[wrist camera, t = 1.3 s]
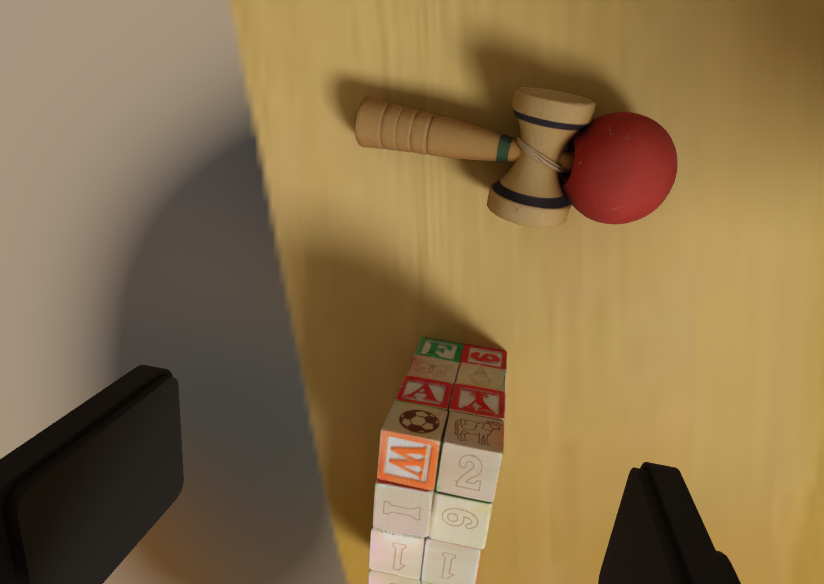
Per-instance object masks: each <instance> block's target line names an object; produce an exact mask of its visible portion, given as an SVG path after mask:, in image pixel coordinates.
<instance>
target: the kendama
mask: <svg viewBox="0 0 824 584" xmlns="http://www.w3.org/2000/svg"><path fill="white" fill-rule="evenodd" d="M511 106H512V109H513V111H514V113H515V115H516V117H517V119H518V122H519V126H520V132H521V135H520V136H519V137H516V138H512V137H509V136H507V135H505V134H501V133H499V132H496V131H492V130H490V129H487V128H484V127H480V126H478V125H475V124H471V123H468V122H465V121H461V120H457V119H454V118H450V117H446V116H442V115H435V114H433V113H429V112H425V111H420V110H417V109H413V108H409V107H405V106H402V105H398V104H392V103H390V102H387V101H383V100H380V99H377V98H373V97H366V98H365V99H364V100H363V101H362V102H361V104H360V106H359V109H358V112H357V116H356V121H355V135H356V140H357V142H358V144H359V145H360V146H362V147H369V148H379V149H389V150H398V151H399V150H400V151H405V152H414V153H419V154H425V155H427V154H429V155H433V156H440V157H448V158H457V159H468V160H485V161H507V162H514V164H513V166H512V167H511V168H510V170H509V171H508V172H507V173H506V175H505V176H504V177H502V178H501V179H499V180H498V181H497V182H495V183H494V184H492V185H491V186H490V189H489V195H488V201H487V206H488V208H489V210H490V211H491V212H493V213H494V214H495V215H497V216H499V217H500V218H503V219H505V220H507V221H510V222H513V223H516V224H520V225H524V226H530V227H537V228H551V227H557V226H560V225H562V224H564V223H565V221H566V219H567V215H568V213H569V210H570V207H571V204H572V205H573V206H574V207H575V208H576V209H577V210H578V211H579V212H580V213H581V214H583V215H584V216H586V217H587V218H589V219H591V220H594V221H597V222H601V223H606V224H624V223H629V222H633V221H636V220H638V219H641V218H643V217H645V216H647V215H649V214H650V213H652V212H653V211H654V210H655V209H657V208H658V207H659V206H660V205H661V203H662V202H663V201H664V200H665V198H666V197H667V195H668V194H669V192H670V190H671V188H672V186H673V184H674V181H675V178H676V173H677V154H676V149H675V146H674V143H673V141H672V139H671V137H670V135H669V134H668V133H667V131H666V130H665V129H664V128H663V127H662V126H661V125H659V124H658V123H657V122H655V121H654V120H652V119H650V118H648V117H646V116H643V115H640V114H636V113H630V112H619V113H611V114H607V115H604V116H601V117H599V118H597V119H594V120H593V116H594V111H595V106H596V104H595V103H594V102H593V101H592V100H590V99H588V98H585V97H582V96H579V95H575V94H571V93H566V92H561V91H556V90H549V89H543V88H534V87H519V88H517V89H516V90H515V93H514V96H513V100H512V104H511Z"/></svg>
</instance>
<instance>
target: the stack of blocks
mask: <svg viewBox="0 0 824 584" xmlns="http://www.w3.org/2000/svg"><path fill="white" fill-rule="evenodd" d="M506 370H507V352H506V351H502V350H496V349H491V348H485V347H479V346H473V345H467V344H464V345H463V344H457V343H452V342H446V341H440V340H435V339H429V338H424V337H422V338H421V340H420V342H419V344H418V346H417V349H416V351H415V353H414V355H413V361H412V363H411V365H410V367H409V369H408V372H407V375H406V376H405V377H404V378H403V380H402V383H401V385H400V387H399V389H398V392H397V394H396V397H395V400H394V403H393V405H392V407H391V409H390V411H389V413H388V415H387V417H386V420H385V422H384V424H383V426H382V429H381V434H380V445H379V458H378V469H377V479H376V483H375V493H374V509H373V525H372V528H371V535H370V551H369V568H370V570H369V576H368V584H476V582H477V574H478V568H479V562H480V557H481V551H482V549H484V547H485V543H486V538H487V532H488V526H489V521H490V516H491V511H492V503H493V501H494V499H495V494H496V489H497V484H498V479H499V474H500V469H501V464H502V458H503V446H504V419H505V377H506Z"/></svg>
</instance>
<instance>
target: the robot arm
mask: <svg viewBox="0 0 824 584" xmlns="http://www.w3.org/2000/svg"><path fill="white" fill-rule="evenodd" d="M179 407H180V406H179V388H178V381H177V380H176V379H175V378H173V377H172V374H171V372H170V371H169V370H167V369H163V368H158V367H153V366H147V365H140V366H138V367H136V368H134V369H133V370H132V371H130V372H128V373H127V374H126V375H124V376H123V377H121V378H120V379H118V380H117V381H115V382H114V383H112V384H111V385H109V386H108V387H106V388H105V389H103V390H102V391H101V392H99V393H97V394H96V395H95V396H93V397H92V398H90V399H89V400H87V401H86V402H84V403H83V404H81V405H80V406H79V407H77V408H75V409H74V410H72V411H71V412H69V413H68V414H67V415H65V416H64V417H62V418H61V419H59V420H58V421H56V422H55V423H53V424H52V425H50V426H49V427H47V428H46V429H44V430H43V431H41V432H40V433H38V434H37V435H36V436H34V437H33V438H31V439H30V440H28V441H27V442H25V443H24V444H22V445H21V446H19V447H18V448H16V449H15V450H13V451H12V452H11V453H9V454H8V455H6V456H5V457H3V458H2V459H0V584H102V583H104V581H105V580H106V579H107V578H108V577H109V576H110V575H111V573H112V572H113V571H114V570H115V569H116V568H117V567H118V565H119V564H120V563H121V562H122V561H123V560H124V558H125V557H126V556H127V555H128V554H129V553H130V552H131V550H132V549H133V548H134V547H135V546H136V545H137V544H138V542H139V541H140V540H141V539H142V538H143V537H144V536H145V534H146V533H147V532H148V531H149V530H150V529H151V528H152V526H153V525H154V524H155V523H156V522H157V521H158V520H159V518H160V517H161V516H162V515H163V514H164V513H165V511H166V510H167V509H168V508H169V507H170V506H171V505H172V503H173V502H174V501H175V500H176V499H177V497H178V496H179V494H180V492H181V490H182V487H183V481H184V479H183V460H182V444H181V443H182V442H181V424H180V408H179ZM598 584H741V583H740V581H739V579H738V577H737V575H736V572H735V570H734V568H733V566H732V564H731V562H730V561H729V559H728V558H727V556H726V555H725V554H723V553H722V552H719V551H716V550H715V548H714V546H713V543H712V541H711V539H710V537H709V535H708V532H707V530H706V528H705V526H704V524H703V521H702V519H701V517H700V515H699V513H698V510H697V508H696V506H695V504H694V502H693V499H692V497H691V495H690V493H689V491H688V488H687V486H686V484H685V482H684V479H683V477H682V475H681V473H680V471H679V470H678V469H677V468H675V467H670V466H664V465H659V464H654V463H649V462H645V463H643V464H642V466H641V468H640V469H639V468H632V469H631V470H630V473H629V476H628V479H627V483H626V486H625V489H624V493H623V496H622V500H621V503H620V506H619V510H618V513H617V517H616V520H615V523H614V527H613V530H612V533H611V537H610V540H609V544H608V547H607V550H606V554H605V557H604V561H603V564H602V567H601V571H600V575H599V582H598Z"/></svg>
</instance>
